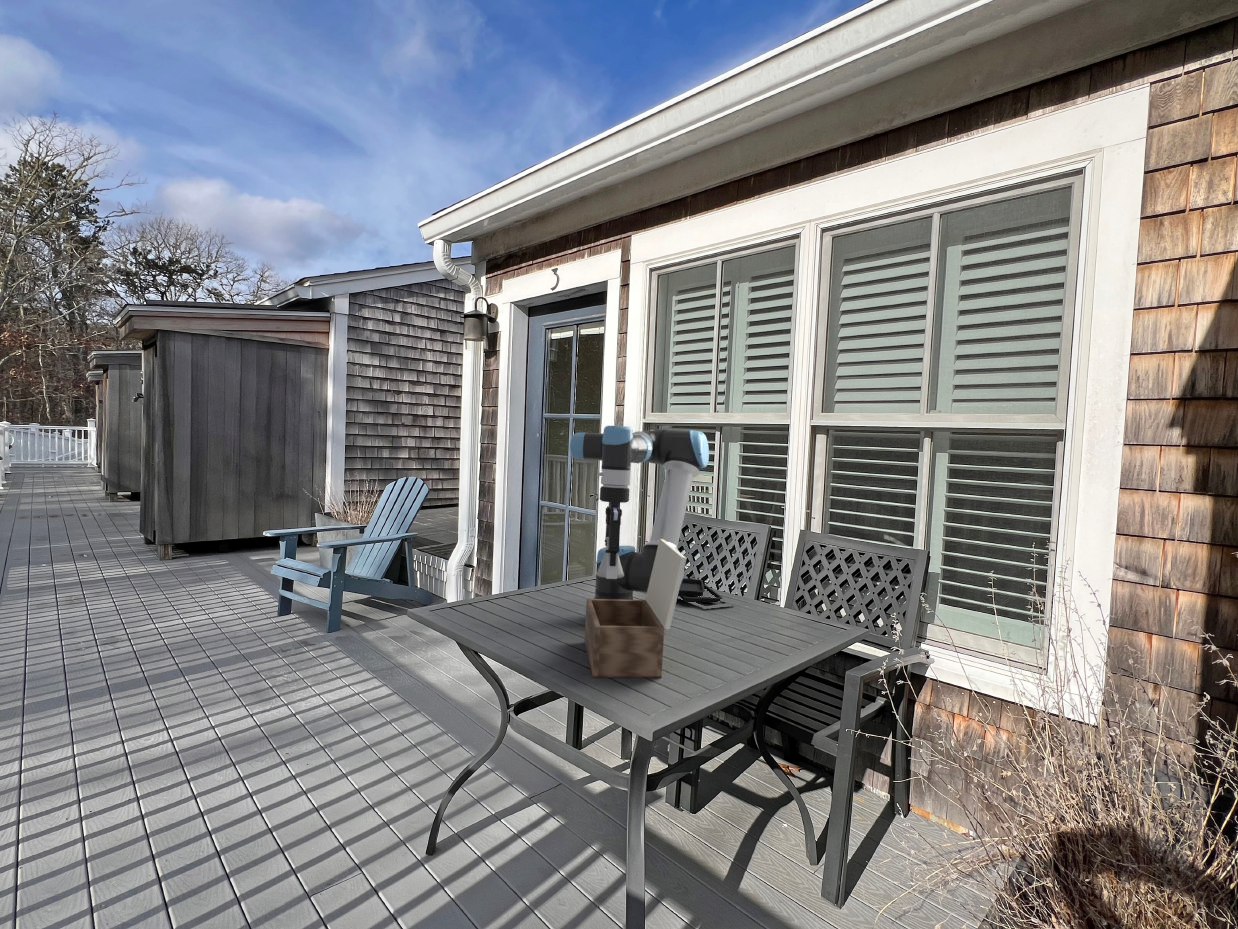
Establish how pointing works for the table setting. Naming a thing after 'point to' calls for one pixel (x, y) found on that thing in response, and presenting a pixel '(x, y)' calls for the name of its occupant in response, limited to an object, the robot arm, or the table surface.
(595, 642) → the bin
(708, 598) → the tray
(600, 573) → the flask
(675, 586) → the lid
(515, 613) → the table surface
